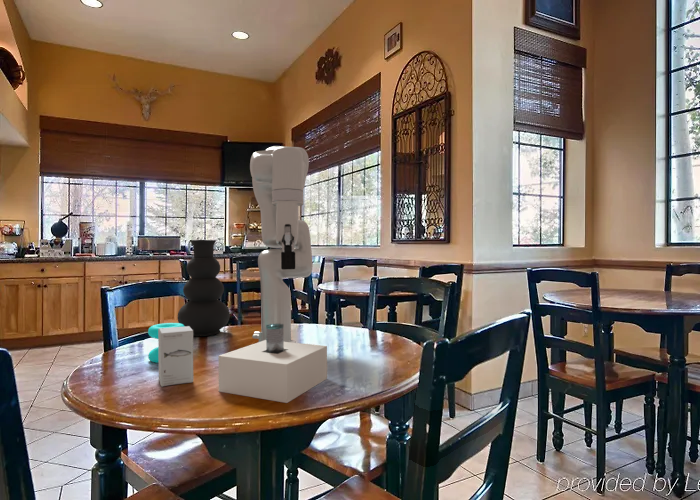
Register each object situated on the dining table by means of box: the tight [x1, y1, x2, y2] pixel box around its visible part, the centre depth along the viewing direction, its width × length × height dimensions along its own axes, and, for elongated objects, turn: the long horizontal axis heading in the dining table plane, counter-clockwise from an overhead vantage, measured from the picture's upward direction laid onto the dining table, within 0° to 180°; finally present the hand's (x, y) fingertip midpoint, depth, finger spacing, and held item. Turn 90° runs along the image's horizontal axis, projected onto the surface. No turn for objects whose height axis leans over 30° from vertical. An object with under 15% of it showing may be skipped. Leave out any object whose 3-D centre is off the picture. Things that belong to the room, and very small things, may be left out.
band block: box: [217, 340, 328, 404], centre depth 102 cm, size 18×18×8 cm
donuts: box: [147, 322, 185, 364], centre depth 125 cm, size 10×10×10 cm
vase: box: [177, 239, 231, 337], centre depth 161 cm, size 18×18×35 cm
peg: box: [266, 324, 284, 354], centre depth 102 cm, size 4×4×8 cm
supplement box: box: [157, 326, 194, 387], centre depth 105 cm, size 7×7×13 cm
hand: (288, 268), depth 106 cm, fingers open, 9 cm apart
